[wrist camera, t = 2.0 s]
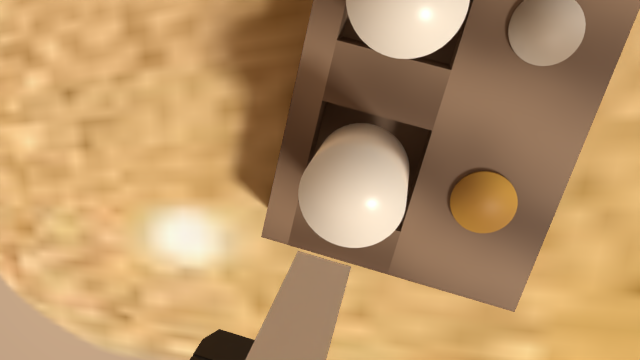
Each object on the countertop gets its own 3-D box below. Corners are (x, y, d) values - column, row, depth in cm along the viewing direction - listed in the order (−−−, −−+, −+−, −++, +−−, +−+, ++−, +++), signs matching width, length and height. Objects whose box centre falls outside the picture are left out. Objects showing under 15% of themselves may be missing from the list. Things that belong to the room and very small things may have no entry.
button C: (327, 112, 27) (311, 132, 23) (421, 137, 26) (420, 162, 23) (306, 198, 28) (288, 230, 25) (394, 223, 28) (389, 260, 24)
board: (406, -362, 23) (403, -413, 20) (737, -296, 22) (785, -340, 19) (275, 215, 32) (260, 238, 29) (506, 282, 31) (515, 313, 28)
